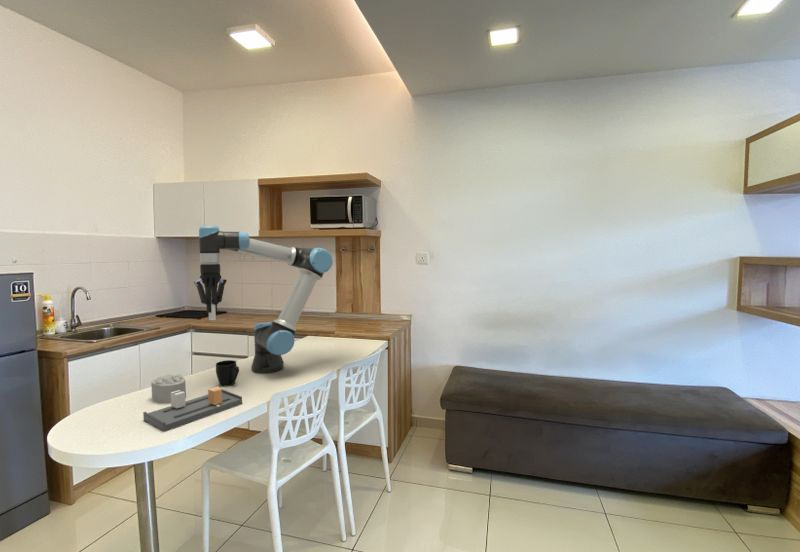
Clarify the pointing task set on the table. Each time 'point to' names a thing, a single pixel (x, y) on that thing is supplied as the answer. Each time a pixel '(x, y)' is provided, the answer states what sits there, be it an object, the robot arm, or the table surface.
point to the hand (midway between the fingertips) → (212, 319)
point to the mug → (227, 372)
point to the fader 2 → (215, 395)
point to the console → (190, 411)
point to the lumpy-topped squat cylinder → (167, 387)
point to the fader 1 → (177, 399)
